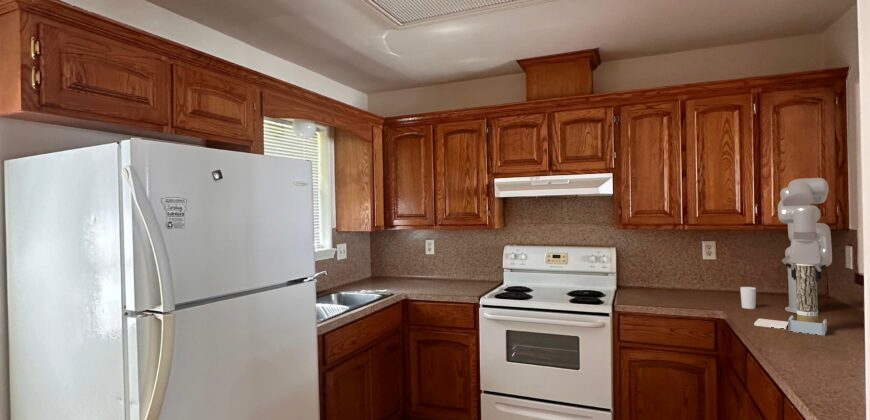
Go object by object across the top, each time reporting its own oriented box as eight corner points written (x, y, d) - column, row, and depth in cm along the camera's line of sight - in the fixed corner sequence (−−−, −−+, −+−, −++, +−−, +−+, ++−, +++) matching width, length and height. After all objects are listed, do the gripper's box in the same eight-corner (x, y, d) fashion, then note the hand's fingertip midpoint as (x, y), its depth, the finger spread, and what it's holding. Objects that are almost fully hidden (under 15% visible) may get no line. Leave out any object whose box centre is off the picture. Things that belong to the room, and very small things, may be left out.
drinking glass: (759, 309, 237) (758, 288, 237) (744, 308, 238) (743, 288, 238) (752, 306, 244) (752, 286, 244) (738, 306, 245) (737, 286, 245)
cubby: (791, 326, 203) (791, 315, 203) (826, 330, 195) (826, 319, 195) (788, 331, 195) (788, 320, 195) (825, 335, 187) (824, 324, 187)
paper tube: (793, 323, 198) (791, 263, 197) (804, 321, 200) (802, 261, 200) (811, 327, 191) (809, 264, 191) (822, 325, 194) (820, 263, 193)
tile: (758, 320, 213) (758, 318, 213) (789, 324, 206) (789, 321, 206) (754, 325, 205) (754, 323, 205) (785, 329, 198) (785, 326, 198)
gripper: (833, 236, 192) (834, 280, 192) (780, 235, 204) (781, 277, 204) (832, 237, 187) (833, 283, 187) (777, 236, 198) (778, 279, 199)
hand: (806, 279), depth 196 cm, fingers closed on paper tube, 6 cm apart
